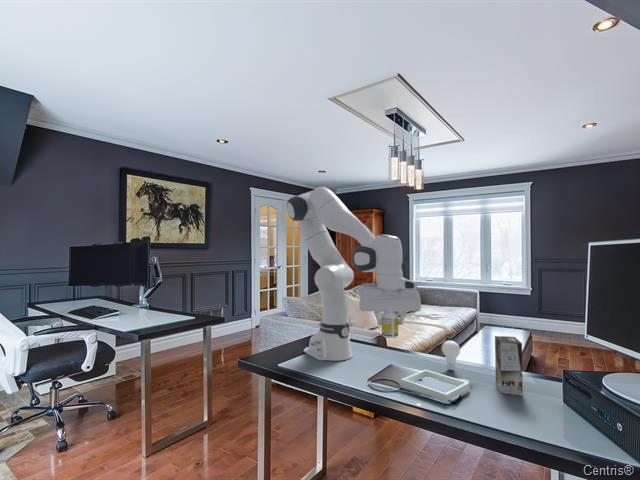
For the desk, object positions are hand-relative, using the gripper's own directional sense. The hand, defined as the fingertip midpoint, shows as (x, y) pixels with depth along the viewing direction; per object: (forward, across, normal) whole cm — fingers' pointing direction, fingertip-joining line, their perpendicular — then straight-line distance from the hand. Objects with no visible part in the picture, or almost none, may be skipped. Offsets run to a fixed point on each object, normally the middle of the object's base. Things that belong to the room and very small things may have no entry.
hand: (389, 324), depth 114 cm
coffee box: (+21, +38, -2) cm, 43 cm away
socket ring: (+20, -2, +1) cm, 20 cm away
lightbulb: (+21, +26, +15) cm, 36 cm away
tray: (+20, +14, -3) cm, 25 cm away
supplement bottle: (+4, 0, 0) cm, 4 cm away
